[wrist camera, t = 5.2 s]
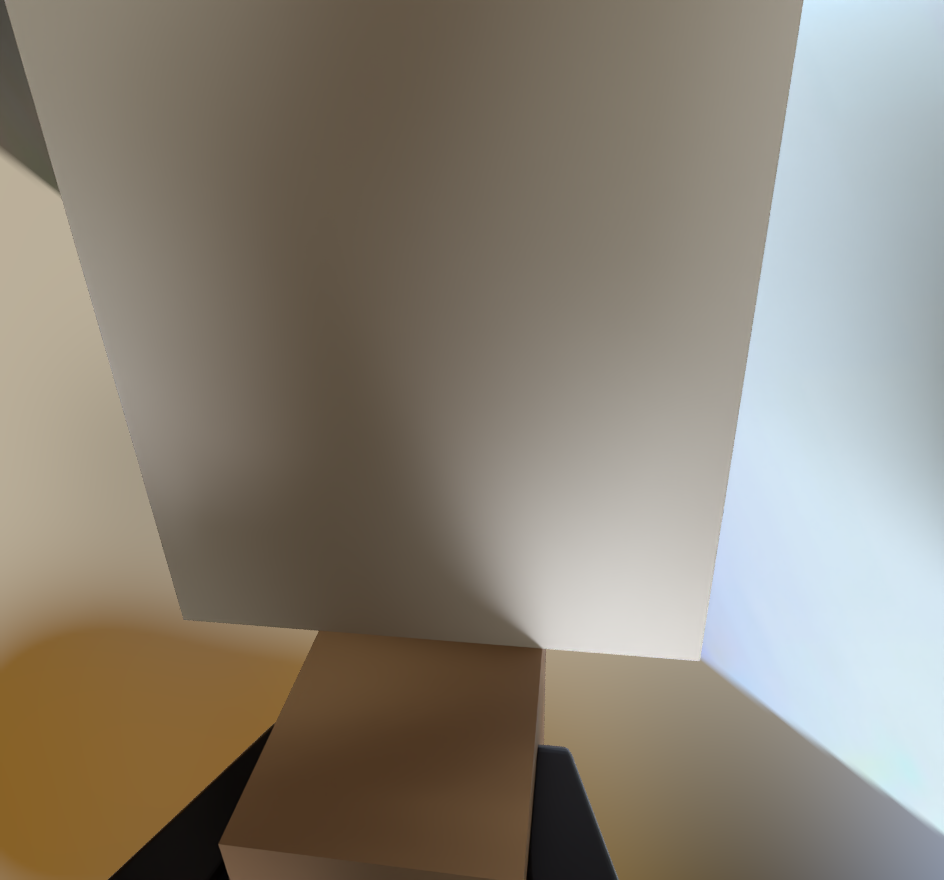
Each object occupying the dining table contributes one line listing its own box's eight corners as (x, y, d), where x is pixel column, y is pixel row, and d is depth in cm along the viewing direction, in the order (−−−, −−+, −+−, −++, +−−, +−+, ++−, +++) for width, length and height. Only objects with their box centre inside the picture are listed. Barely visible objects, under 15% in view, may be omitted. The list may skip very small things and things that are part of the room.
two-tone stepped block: (790, -129, 5) (1074, -393, 2) (638, 960, 12) (655, 1269, 9) (61, -79, 6) (-480, -215, 3) (306, 914, 13) (217, 1181, 10)
